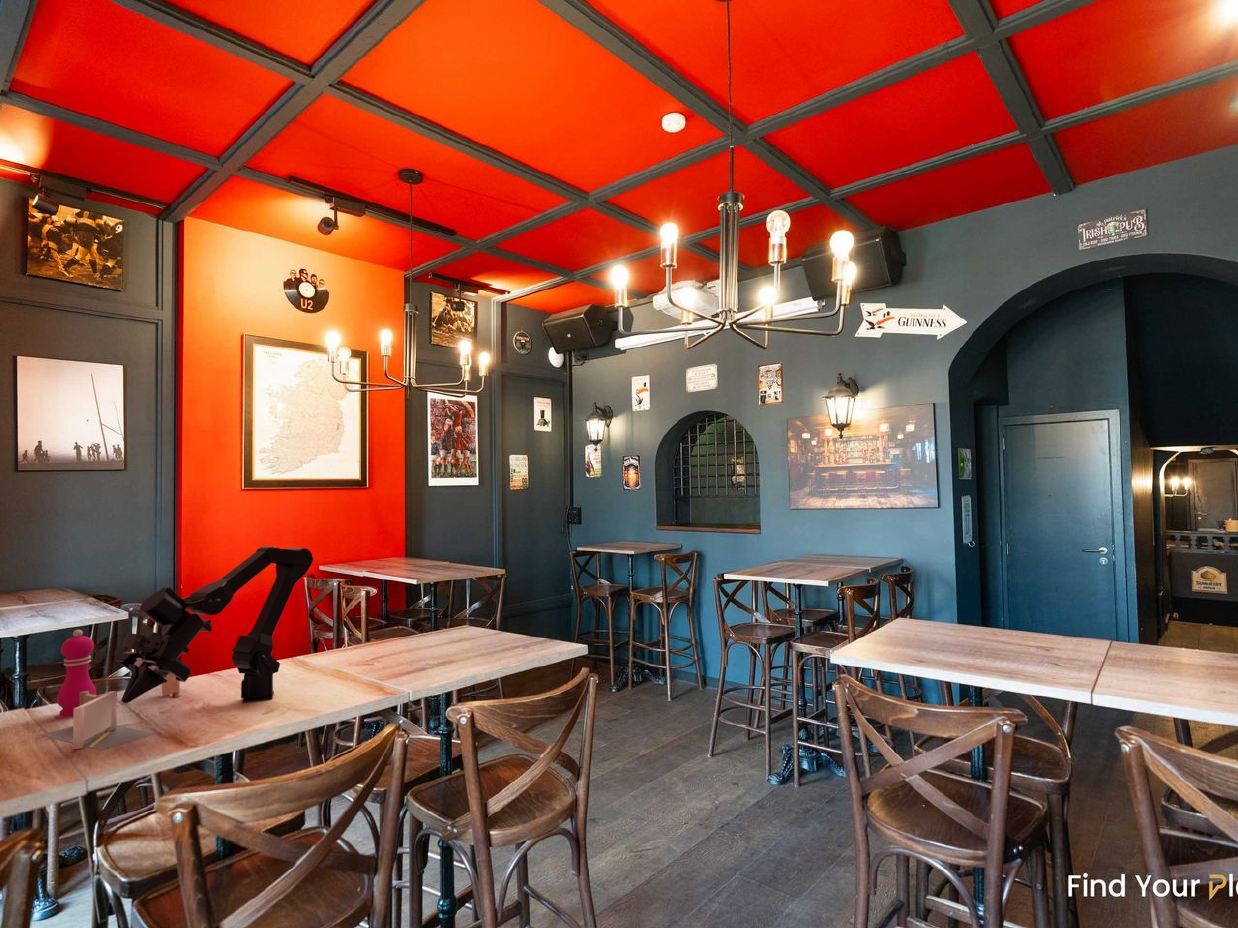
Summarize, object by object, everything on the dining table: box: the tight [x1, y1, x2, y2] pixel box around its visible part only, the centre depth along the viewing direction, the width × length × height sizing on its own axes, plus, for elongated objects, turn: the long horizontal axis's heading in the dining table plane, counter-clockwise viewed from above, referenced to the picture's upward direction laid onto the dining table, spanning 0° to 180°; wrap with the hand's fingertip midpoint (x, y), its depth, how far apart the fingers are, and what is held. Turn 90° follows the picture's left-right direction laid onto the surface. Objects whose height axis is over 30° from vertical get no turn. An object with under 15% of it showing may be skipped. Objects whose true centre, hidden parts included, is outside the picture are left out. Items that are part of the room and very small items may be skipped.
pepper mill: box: [56, 629, 97, 718], centre depth 157 cm, size 7×7×20 cm
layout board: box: [41, 691, 155, 751], centre depth 141 cm, size 23×10×8 cm, turn 64°
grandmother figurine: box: [161, 673, 182, 699], centre depth 171 cm, size 8×4×13 cm, turn 149°
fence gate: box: [72, 690, 118, 750], centre depth 139 cm, size 12×2×8 cm, turn 8°
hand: (123, 702), depth 141 cm, fingers closed
